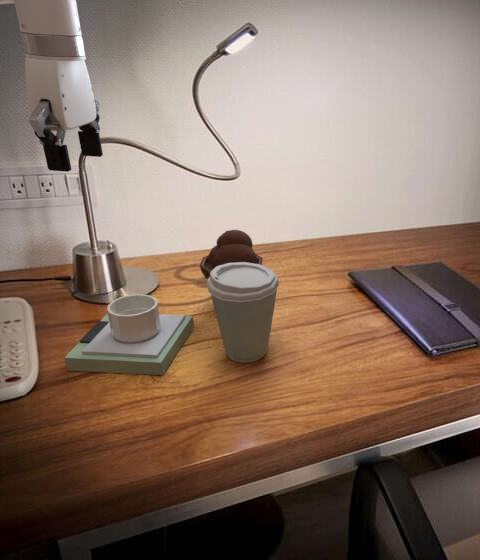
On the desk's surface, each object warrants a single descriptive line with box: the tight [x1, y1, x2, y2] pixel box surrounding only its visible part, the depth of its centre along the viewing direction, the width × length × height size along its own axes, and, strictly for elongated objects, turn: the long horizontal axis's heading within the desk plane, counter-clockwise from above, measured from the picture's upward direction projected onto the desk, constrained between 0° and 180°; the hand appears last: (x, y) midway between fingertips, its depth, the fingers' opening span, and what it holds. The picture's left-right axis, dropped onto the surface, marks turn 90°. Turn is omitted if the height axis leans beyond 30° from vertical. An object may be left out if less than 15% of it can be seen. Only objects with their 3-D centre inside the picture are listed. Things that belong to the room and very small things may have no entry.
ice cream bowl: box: [199, 229, 264, 281], centre depth 96 cm, size 11×11×15 cm
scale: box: [64, 313, 195, 376], centre depth 85 cm, size 14×14×3 cm
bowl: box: [106, 293, 161, 343], centre depth 83 cm, size 7×7×5 cm
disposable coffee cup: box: [206, 262, 280, 364], centre depth 83 cm, size 11×11×15 cm
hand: (77, 162), depth 85 cm, fingers open, 9 cm apart
